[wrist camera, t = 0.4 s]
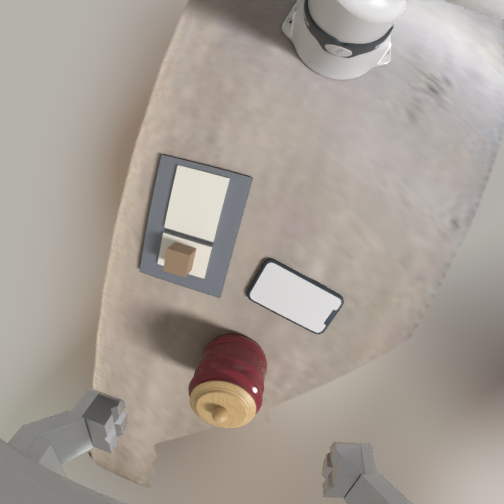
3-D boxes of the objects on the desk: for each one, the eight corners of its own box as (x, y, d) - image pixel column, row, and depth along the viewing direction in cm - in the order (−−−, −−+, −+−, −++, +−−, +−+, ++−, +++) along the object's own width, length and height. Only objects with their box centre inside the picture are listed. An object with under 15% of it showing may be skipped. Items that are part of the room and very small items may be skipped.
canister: (258, 389, 65) (248, 451, 48) (199, 373, 65) (175, 431, 48) (275, 342, 61) (269, 404, 44) (210, 324, 61) (184, 380, 44)
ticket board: (163, 154, 53) (160, 154, 51) (252, 177, 52) (251, 178, 51) (141, 269, 59) (138, 272, 58) (220, 295, 59) (219, 299, 57)
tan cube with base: (164, 232, 56) (154, 238, 51) (212, 246, 55) (205, 254, 51) (158, 262, 57) (148, 271, 53) (204, 277, 57) (198, 287, 53)
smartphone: (245, 294, 59) (319, 333, 59) (244, 298, 58) (320, 337, 58) (268, 254, 56) (345, 296, 57) (267, 256, 55) (346, 299, 55)
